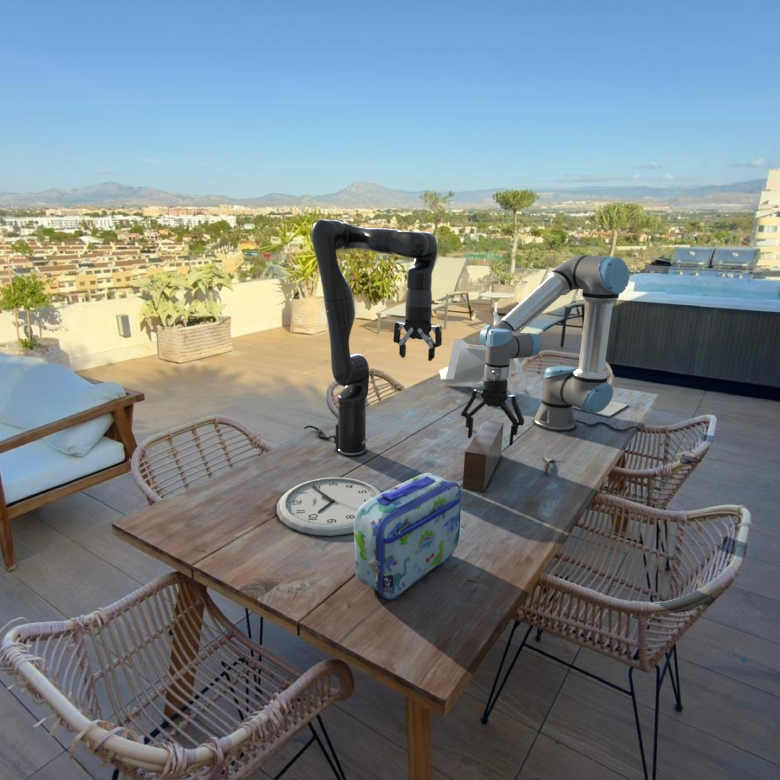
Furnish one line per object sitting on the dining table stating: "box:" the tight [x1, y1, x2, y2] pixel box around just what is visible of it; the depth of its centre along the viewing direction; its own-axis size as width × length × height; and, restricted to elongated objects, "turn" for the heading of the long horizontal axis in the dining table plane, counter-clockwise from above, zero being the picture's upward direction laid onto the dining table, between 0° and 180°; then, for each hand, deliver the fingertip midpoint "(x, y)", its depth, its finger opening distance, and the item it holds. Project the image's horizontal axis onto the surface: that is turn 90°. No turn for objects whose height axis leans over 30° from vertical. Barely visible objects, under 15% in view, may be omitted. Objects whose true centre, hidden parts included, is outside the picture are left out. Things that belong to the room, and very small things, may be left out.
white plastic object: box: [438, 310, 531, 397], centre depth 245 cm, size 37×45×31 cm
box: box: [462, 420, 504, 493], centre depth 163 cm, size 28×6×12 cm, turn 158°
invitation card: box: [573, 400, 629, 418], centre depth 226 cm, size 21×1×15 cm
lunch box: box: [353, 472, 462, 600], centre depth 112 cm, size 26×11×21 cm, turn 134°
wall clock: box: [276, 476, 383, 537], centre depth 142 cm, size 30×2×30 cm
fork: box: [544, 449, 554, 474], centre depth 169 cm, size 3×16×2 cm, turn 160°
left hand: (416, 358), depth 156 cm, fingers open, 8 cm apart
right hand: (490, 440), depth 172 cm, fingers open, 13 cm apart
